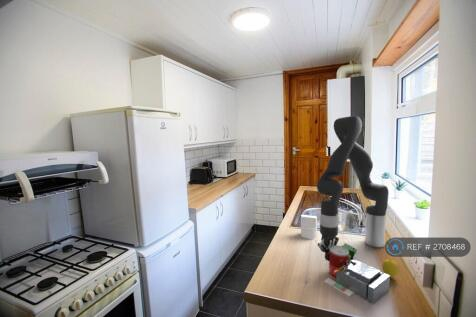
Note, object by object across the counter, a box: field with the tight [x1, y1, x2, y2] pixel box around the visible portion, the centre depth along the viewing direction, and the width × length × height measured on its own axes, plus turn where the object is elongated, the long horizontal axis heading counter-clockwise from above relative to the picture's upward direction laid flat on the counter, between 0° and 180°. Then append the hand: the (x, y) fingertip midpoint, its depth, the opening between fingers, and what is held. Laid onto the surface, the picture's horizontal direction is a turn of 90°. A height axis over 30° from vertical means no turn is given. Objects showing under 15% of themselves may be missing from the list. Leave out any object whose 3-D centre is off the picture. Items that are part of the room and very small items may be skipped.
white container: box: [300, 214, 318, 240], centre depth 138 cm, size 9×9×12 cm
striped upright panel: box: [323, 277, 355, 297], centre depth 92 cm, size 3×11×1 cm, turn 34°
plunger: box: [334, 262, 353, 273], centre depth 92 cm, size 14×8×7 cm, turn 124°
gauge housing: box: [335, 258, 391, 305], centre depth 92 cm, size 12×14×8 cm
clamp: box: [341, 242, 358, 262], centre depth 111 cm, size 12×6×9 cm, turn 126°
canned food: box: [328, 245, 350, 279], centre depth 100 cm, size 8×8×11 cm
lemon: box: [381, 258, 399, 278], centre depth 97 cm, size 6×6×8 cm
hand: (328, 259), depth 104 cm, fingers closed
